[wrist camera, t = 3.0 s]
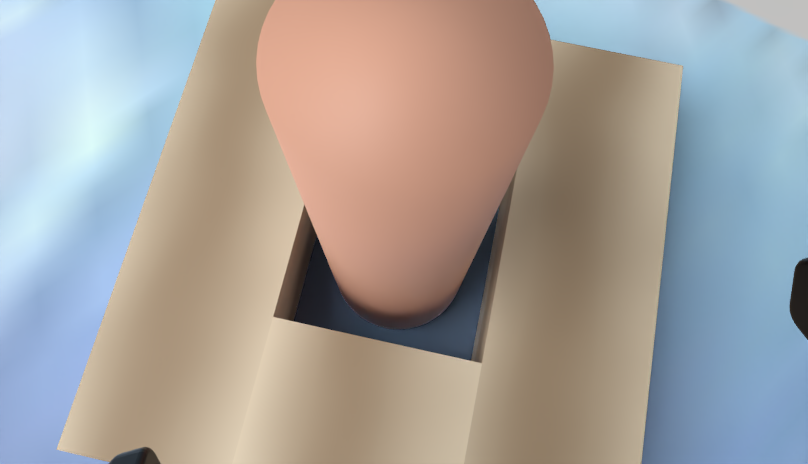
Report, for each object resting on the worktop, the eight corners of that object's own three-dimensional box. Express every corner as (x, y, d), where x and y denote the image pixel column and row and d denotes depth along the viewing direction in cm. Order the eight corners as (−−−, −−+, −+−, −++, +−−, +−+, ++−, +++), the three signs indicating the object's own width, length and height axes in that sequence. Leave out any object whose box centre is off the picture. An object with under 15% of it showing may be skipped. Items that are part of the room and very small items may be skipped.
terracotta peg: (473, 219, 21) (573, -38, 9) (449, 342, 20) (527, 225, 8) (351, 194, 21) (299, -90, 9) (321, 313, 20) (219, 160, 8)
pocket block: (644, 112, 22) (683, 65, 19) (590, 558, 18) (628, 583, 15) (246, 32, 22) (224, -25, 20) (108, 445, 18) (56, 449, 16)
